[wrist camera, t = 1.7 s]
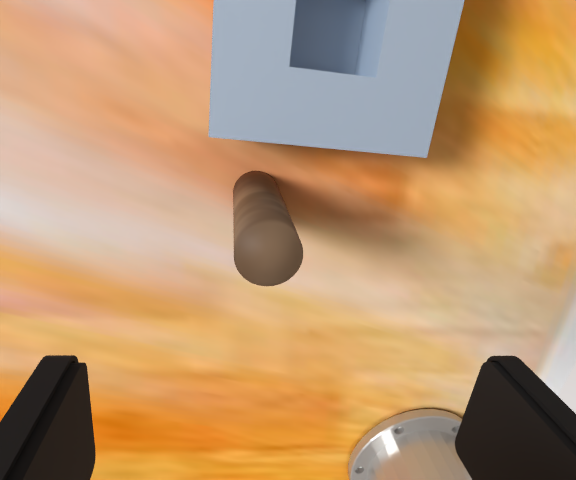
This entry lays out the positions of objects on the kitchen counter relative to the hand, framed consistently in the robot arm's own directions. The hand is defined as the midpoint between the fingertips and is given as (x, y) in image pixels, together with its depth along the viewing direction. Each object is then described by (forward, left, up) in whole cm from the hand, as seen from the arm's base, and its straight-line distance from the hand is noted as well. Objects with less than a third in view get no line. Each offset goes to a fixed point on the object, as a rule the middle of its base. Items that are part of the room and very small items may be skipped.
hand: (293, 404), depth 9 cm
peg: (0, 0, -18) cm, 18 cm away
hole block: (-3, -10, -18) cm, 21 cm away
